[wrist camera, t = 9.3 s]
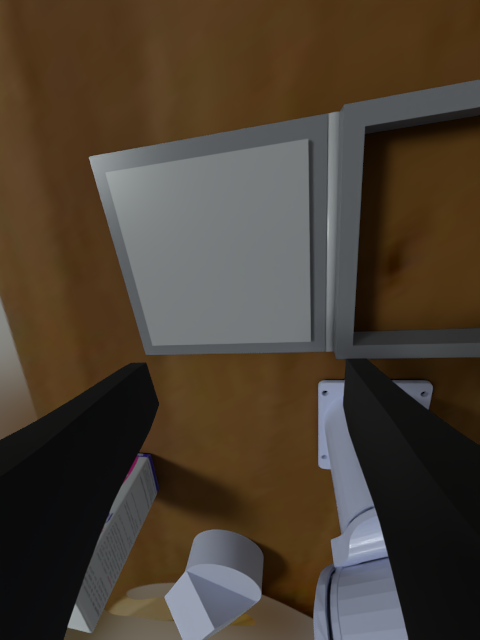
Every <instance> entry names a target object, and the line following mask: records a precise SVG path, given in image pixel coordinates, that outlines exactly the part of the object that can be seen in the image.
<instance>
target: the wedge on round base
mask: <svg viewBox="0 0 480 640" xmlns="http://www.w3.org/2000/svg"><path fill="white" fill-rule="evenodd" d="M263 561H264V556H263V553H262V551H261V549H260V548H259V547H258V546H257V545H256V544H255V543H254V542H253V541H251V540H250V539H248V538H246V537H245V536H242V535H240V534H237V533H234V532H231V531H226V530H208V531H204V532H202V533H200V534H198V535H197V536H196V537H195V539H194V541H193V545H192V548H191V552H190V556H189V559H188V563H187V566H186V570H185V573H184V574H183V575H182V576H181V578H180V579H179V580H178V581H177V582H176V584H175V585H174V586H173V587H172V589H171V590H170V591H169V592H168V593H167V595H166V596H165V600H166V602H167V604H168V607H169V609H170V611H171V614H172V616H173V618H174V621H175V623H176V625H177V628H178V630H179V632H180V635H181V637H182V640H206V639H208V638H209V637H211V636H212V635H213V634H215V633H217V632H218V631H220V630H221V629H223V628H224V627H226V626H228V625H229V624H230V623H232V622H233V621H234V620H235V619H237V618H238V617H239V616H240V615H242V614H243V613H244V612H246V611H247V610H248V609H249V608H250V607H252V606H253V605H254V604H256V603H257V602H258V601H259V600H260V598H261V591H262V576H263Z"/></svg>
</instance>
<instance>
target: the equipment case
mask: <svg viewBox="0 0 480 640" xmlns="http://www.w3.org/2000/svg"><path fill="white" fill-rule="evenodd" d="M479 115H480V80H475V81H470V82H464V83H459V84H453V85H448V86H443V87H437V88H432V89H426V90H421V91H416V92H410V93H405V94H399V95H394V96H389V97H383V98H378V99H372V100H367V101H362V102H356V103H351V104H346V105H343V107H342V109H341V111H340V112H333V113H329V114H322V115H317V116H311V117H306V118H300V119H295V120H289V121H284V122H278V123H273V124H267V125H262V126H256V127H251V128H245V129H240V130H234V131H229V132H223V133H218V134H212V135H207V136H201V137H196V138H190V139H185V140H179V141H174V142H168V143H163V144H157V145H152V146H146V147H141V148H135V149H130V150H124V151H119V152H113V153H108V154H102V155H97V156H91V157H89V160H90V163H91V166H92V170H93V173H94V177H95V180H96V184H97V187H98V191H99V194H100V198H101V201H102V204H103V208H104V211H105V215H106V218H107V222H108V225H109V229H110V232H111V236H112V239H113V243H114V246H115V249H116V253H117V256H118V260H119V263H120V267H121V270H122V274H123V277H124V281H125V284H126V287H127V291H128V294H129V298H130V301H131V305H132V308H133V312H134V315H135V319H136V322H137V326H138V329H139V332H140V336H141V339H142V343H143V346H144V350H145V353H146V355H171V354H226V353H281V352H325V351H327V352H331V351H334V353H335V356H336V359H354V358H366V359H378V358H454V357H480V328H465V329H433V330H401V331H369V332H354V314H355V297H356V279H357V261H358V243H359V225H360V208H361V190H362V172H363V154H364V137H365V134H368V133H375V132H381V131H387V130H393V129H399V128H405V127H411V126H417V125H424V124H430V123H436V122H442V121H448V120H454V119H460V118H466V117H473V116H479Z"/></svg>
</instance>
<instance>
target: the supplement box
mask: <svg viewBox="0 0 480 640" xmlns="http://www.w3.org/2000/svg"><path fill="white" fill-rule="evenodd" d="M158 490H159V485H158V481H157V477H156V473H155V469H154V464H153V460H152V456H151V455H150V454H140V453H138V455H137V457H136V459H135V461H134V463H133V465H132V466H131V468H130V470H129V472H128V474H127V476H126V478H125V480H124V482H123V484H122V486H121V488H120V490H119V492H118V494H117V496H116V498H115V501H114V503H113V505H112V507H111V510H110V512H109V515H108V517H107V520H106V522H105V525H104V527H103V530H102V532H101V534H100V537H99V540H98V542H97V545H96V548H95V550H94V553H93V556H92V558H91V561H90V564H89V566H88V569H87V572H86V574H85V577H84V580H83V583H82V586H81V589H80V592H79V595H78V597H77V600H76V603H75V606H74V609H73V612H72V615H71V618H70V621H69V624H68V628H72V629H76V630H81V631H85V632H89V633H92V632H93V630H94V628H95V626H96V624H97V622H98V620H99V618H100V616H101V613H102V611H103V609H104V607H105V605H106V602H107V600H108V598H109V596H110V594H111V592H112V590H113V587H114V585H115V583H116V581H117V579H118V577H119V574H120V572H121V570H122V568H123V566H124V564H125V562H126V559H127V557H128V555H129V553H130V551H131V549H132V546H133V544H134V542H135V540H136V538H137V536H138V534H139V531H140V529H141V527H142V525H143V523H144V521H145V519H146V516H147V514H148V512H149V510H150V508H151V506H152V503H153V501H154V499H155V497H156V495H157V492H158Z"/></svg>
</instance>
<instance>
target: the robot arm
mask: <svg viewBox="0 0 480 640" xmlns="http://www.w3.org/2000/svg"><path fill="white" fill-rule="evenodd" d="M323 391H328V392H326V393H323ZM432 391H433V386H432V384H431V383H430V382H429V381H426V380H391V379H389V378H388V377H387V376H386V375H385V374H384V373H382V372H381V371H380V370H379V369H378V368H377V367H375V366H374V365H373V364H372V363H371V362H370V361H368V360H367V359H366V358H354V359H346V369H345V380H323V381H321V382H319V384H318V463H319V466H320V467H321V468H323V469H331V473H332V479H333V485H334V491H335V497H336V503H337V509H338V515H339V522H340V528H341V534H342V535H341V536H339V537H337V538H334V539H332V540H331V545H332V553H333V561H334V564H331V565H329V566H326V567H325V568H324V569H323V571H322V572H321V574H320V577H319V580H318V584H317V588H316V597H315V603H314V637H315V640H480V445H478V444H477V443H475V442H474V441H472V440H471V439H469V438H467V437H466V436H465V435H463V434H462V433H460V432H459V431H457V430H456V429H454V428H453V427H451V426H450V425H449V424H447V423H446V422H444V421H443V420H442V419H440V418H439V417H438V416H436V415H435V414H433V413H432V412H431V411H429V406H430V401H431V396H432ZM422 392H425V393H424V394H421V393H422ZM158 406H159V402H158V399H157V396H156V393H155V389H154V386H153V383H152V380H151V377H150V373H149V370H148V367H147V364H146V363H130V364H128V365H126V366H125V367H123V368H121V369H119V370H118V371H116V372H115V373H113V374H111V375H110V376H108V377H107V378H105V379H103V380H102V381H100V382H99V383H97V384H96V385H94V386H93V387H91V388H89V389H88V390H86V391H85V392H83V393H82V394H80V395H79V396H77V397H75V398H74V399H72V400H70V401H69V402H67V403H65V404H64V405H62V406H60V407H59V408H57V409H56V410H54V411H52V412H51V413H49V414H47V415H46V416H44V417H42V418H40V419H39V420H37V421H35V422H33V423H31V424H30V425H28V426H26V427H25V428H22V429H20V430H19V431H17V432H15V433H13V434H11V435H9V436H7V437H5V438H3V439H1V440H0V640H64V637H65V633H66V630H67V627H68V624H69V621H70V618H71V615H72V612H73V609H74V606H75V603H76V600H77V597H78V595H79V592H80V589H81V586H82V583H83V580H84V577H85V574H86V572H87V569H88V566H89V564H90V561H91V558H92V556H93V553H94V550H95V548H96V545H97V542H98V540H99V537H100V534H101V532H102V530H103V527H104V525H105V522H106V520H107V517H108V515H109V512H110V510H111V507H112V505H113V503H114V501H115V498H116V496H117V494H118V492H119V490H120V488H121V486H122V484H123V482H124V480H125V478H126V476H127V474H128V472H129V470H130V468H131V466H132V465H133V463H134V461H135V459H136V457H137V455H138V453H139V451H140V449H141V447H142V445H143V443H144V441H145V439H146V437H147V435H148V433H149V431H150V429H151V426H152V423H153V421H154V418H155V415H156V412H157V409H158ZM323 455H325V456H323Z"/></svg>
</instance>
